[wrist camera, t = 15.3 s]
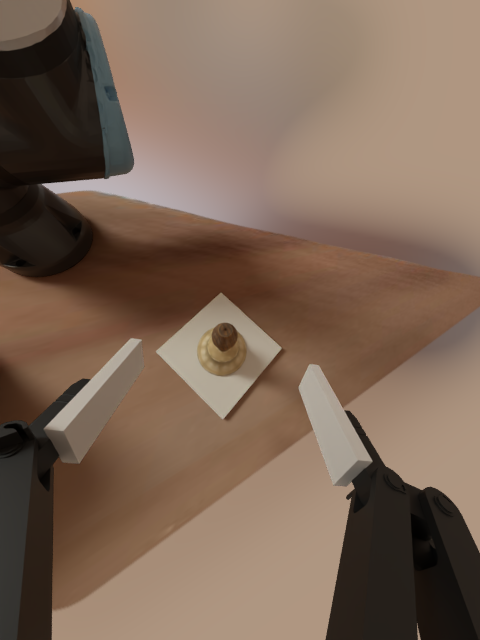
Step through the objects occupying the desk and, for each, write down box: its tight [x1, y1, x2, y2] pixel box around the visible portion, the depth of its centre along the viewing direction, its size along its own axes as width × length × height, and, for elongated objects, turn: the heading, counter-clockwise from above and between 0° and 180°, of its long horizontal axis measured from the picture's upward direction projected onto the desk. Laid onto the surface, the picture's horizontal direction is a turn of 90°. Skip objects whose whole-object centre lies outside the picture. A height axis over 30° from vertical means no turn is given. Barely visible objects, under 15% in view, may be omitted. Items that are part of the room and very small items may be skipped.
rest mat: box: [156, 293, 282, 419], centre depth 30 cm, size 15×15×1 cm
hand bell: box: [197, 323, 247, 376], centre depth 23 cm, size 8×8×16 cm
